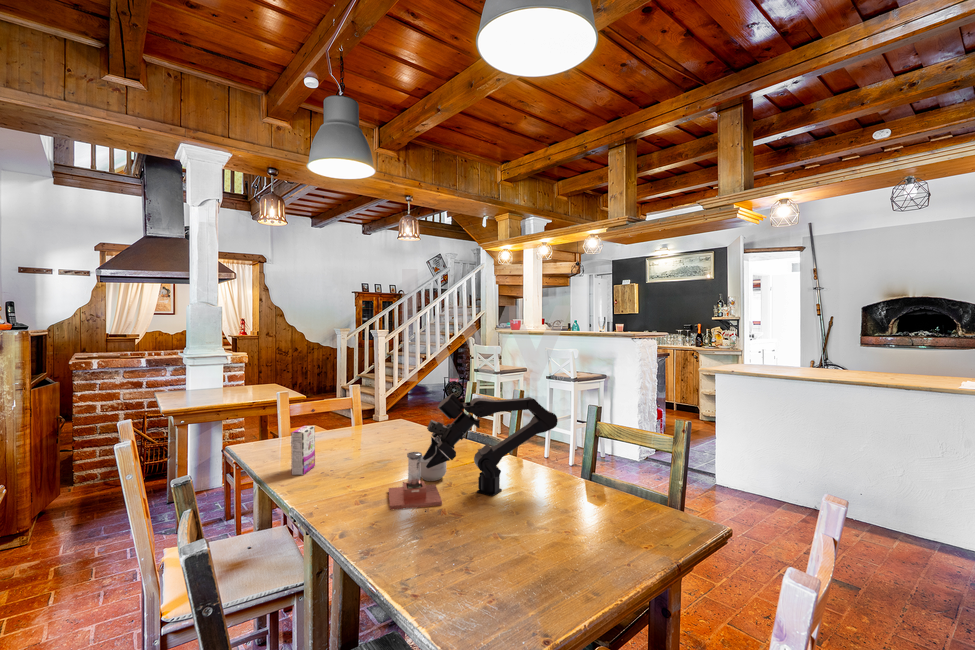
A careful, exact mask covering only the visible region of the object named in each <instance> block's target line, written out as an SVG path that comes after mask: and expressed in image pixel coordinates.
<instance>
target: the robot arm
mask: <svg viewBox="0 0 975 650" xmlns="http://www.w3.org/2000/svg"><path fill="white" fill-rule="evenodd" d="M437 409H439V411H440V412H441V413H442V414H444V416H446V417H447V418H448V419H449V420H451V419H453V421H452V422H451V423H447V424H446V425H444V424H443V423H442V422H440V421H436V420H433V419H431V420H430V421H429V423H428V425H427V427H426V429H427V431H428V432H429V433H431V436H430V445H429V447H428V448H427V449H426V452H425V453H424V455H423V456H424V457H423V459H424V460H427V459H429V458H431V457H432V456H433V457H432V458H431V459H430V461H429V462H428V464H427V465H426V467H427V468H428V469H429V468H431V467H433V466H436V465H438V464H441V463H443V462H446V463H447V462H449V461H453V460H454V459H455V458H456V456H457V451H456V450H455V448H456V447H455V446H456V444H457V443H459V441H463V440H464V436H465V435H466V434H467V433H468V432H469V431H470V429H472V427H474V426H475V427H477V429H480V428H481V426H480V423H481V420H480V419H479V418H484V417H488V416H492V415H494V414H497V413H504V412H517V411H528V412H530V413H531V414H532V415H533V416H532V418H531V419H530V421H529V422H528V423H527V424H526V425H524V426H523V427H520V429H518V430H517V431H515V432H513V433H512V434H511V435H509V436H508V437H506V438H505V439H503V440H502V441H500V442H498V443H497V444H495V445H492V446H490V444H488V443H486V444H485V445H483V447H481V448H479V449H477V452H476V453H475V454H474V456H473V461H474V464H475V466H476V467H477V468H478V469H479V471H480V472H479V474H478V475H479V476H478V477H477V478H478V479H477V481H478V485H477V487H478V488H477V490H476V493H477V494H482V495H487V496H491V497H494V496H496V495H498V493H500V492H502V490H503V489H502V488H500V481H501V479H500V477H501V472H502V470H501V469H500V468H499V467H498V464H499V463H500V462H501V460H502V459H503V457H505V456H507V455H508V454H509V453H510V452H512V451H513V450H515V449H516V448H518V447H519V446H521V445H522V444H524V443H526V442H527V441H529V440H530V439H531V438H533V437H534V436H536V435H538V434H542V433H547V432H549V431H551V430H553V429H555V428H556V427H557V425H558V421H559V419H558V417H557V415H556V414H555V413H554V412H552V411H550V410H548V409H546V408H544V406H542V405H541V403H539V402H538V401H537V400H536V399H535V398H533V397H531V396H527V397H520V398H507V399H489V398H483V397H474V398H472V400H470V401H466V402H465V401H464V402H461V401H460V400H459V399H458V398H457V397H456V395H455V394H454V393H450V394H449V395H448V396H446V397H444V398H443V399H441V401H440V402H439V403H438V405H437ZM463 410H464V411H463ZM465 411H466V413H467V414H466V413H465ZM472 414H473V415H474V416H475V417H477V418H475V417H474V416H473V415H472Z"/></svg>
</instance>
